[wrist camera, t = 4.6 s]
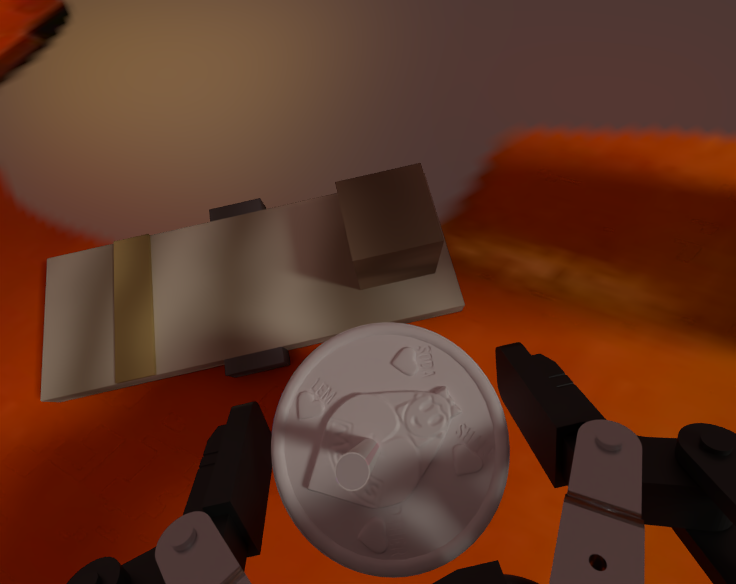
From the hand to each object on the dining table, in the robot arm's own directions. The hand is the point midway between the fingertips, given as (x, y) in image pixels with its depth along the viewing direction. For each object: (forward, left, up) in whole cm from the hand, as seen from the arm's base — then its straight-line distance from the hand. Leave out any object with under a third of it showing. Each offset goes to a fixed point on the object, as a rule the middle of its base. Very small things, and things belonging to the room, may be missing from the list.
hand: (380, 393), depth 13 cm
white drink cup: (0, +1, -7) cm, 8 cm away
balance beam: (+6, -8, -7) cm, 12 cm away
